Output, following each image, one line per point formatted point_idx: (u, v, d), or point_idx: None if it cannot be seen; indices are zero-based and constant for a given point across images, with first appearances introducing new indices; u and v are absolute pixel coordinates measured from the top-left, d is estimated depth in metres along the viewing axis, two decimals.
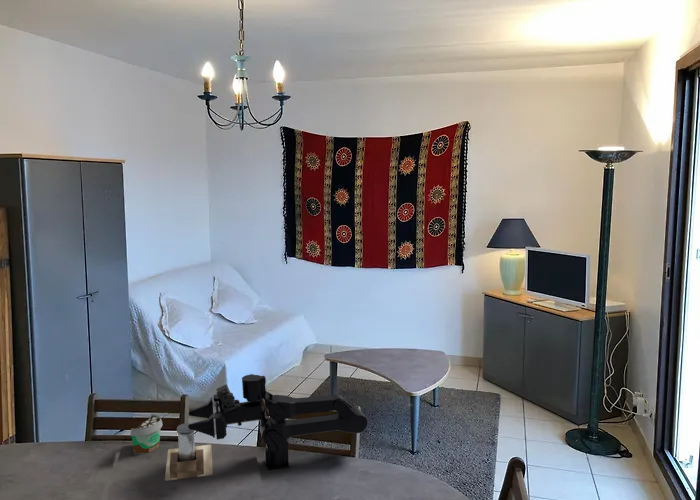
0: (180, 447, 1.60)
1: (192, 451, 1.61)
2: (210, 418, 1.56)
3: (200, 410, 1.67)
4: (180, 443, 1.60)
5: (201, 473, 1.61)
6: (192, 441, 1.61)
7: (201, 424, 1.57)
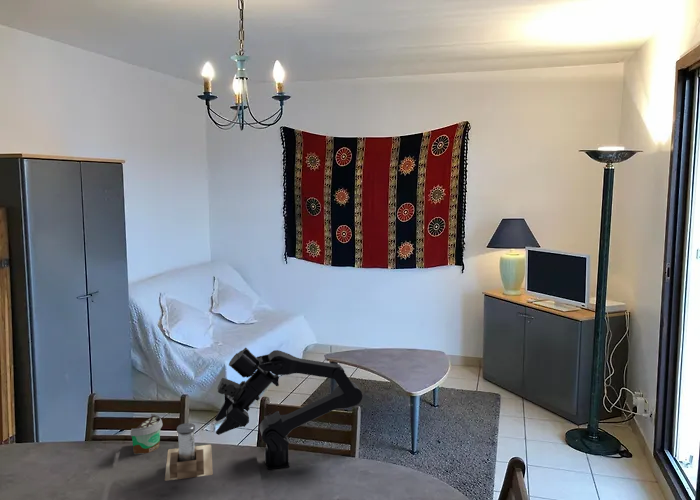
0: (180, 447, 1.60)
1: (192, 451, 1.61)
2: (226, 415, 1.57)
3: (223, 410, 1.69)
4: (180, 443, 1.60)
5: (201, 473, 1.61)
6: (192, 441, 1.61)
7: (224, 424, 1.58)
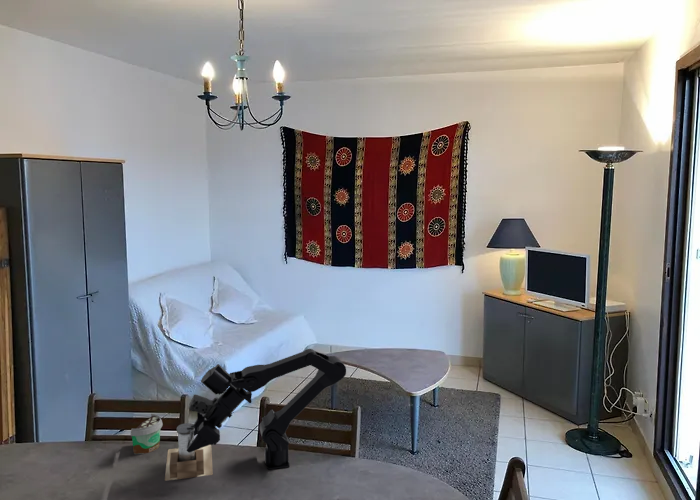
0: (180, 447, 1.60)
1: (192, 451, 1.61)
2: (197, 433, 1.56)
3: (195, 427, 1.67)
4: (180, 443, 1.60)
5: (201, 473, 1.61)
6: None
7: (195, 442, 1.57)
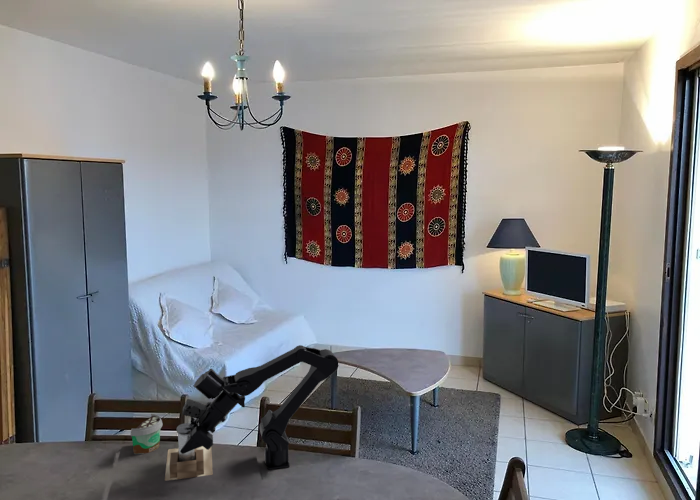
0: (180, 447, 1.60)
1: (192, 451, 1.61)
2: (190, 434, 1.58)
3: None
4: (180, 443, 1.60)
5: (201, 473, 1.61)
6: None
7: (188, 443, 1.59)
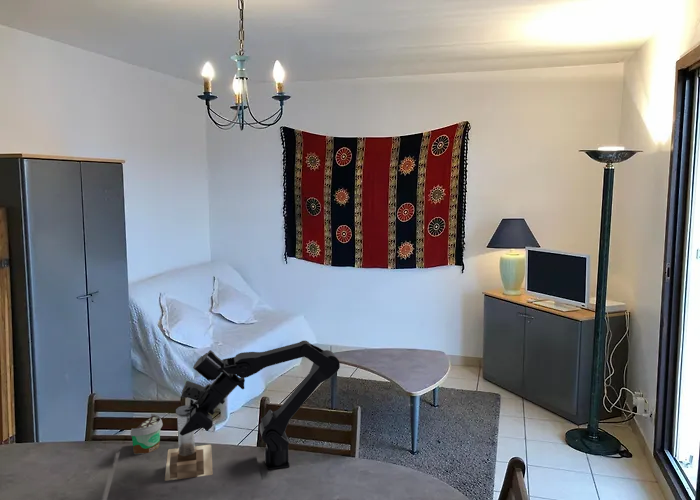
0: (179, 429, 1.60)
1: (192, 433, 1.61)
2: None
3: None
4: (179, 425, 1.59)
5: (201, 473, 1.61)
6: None
7: (188, 425, 1.58)
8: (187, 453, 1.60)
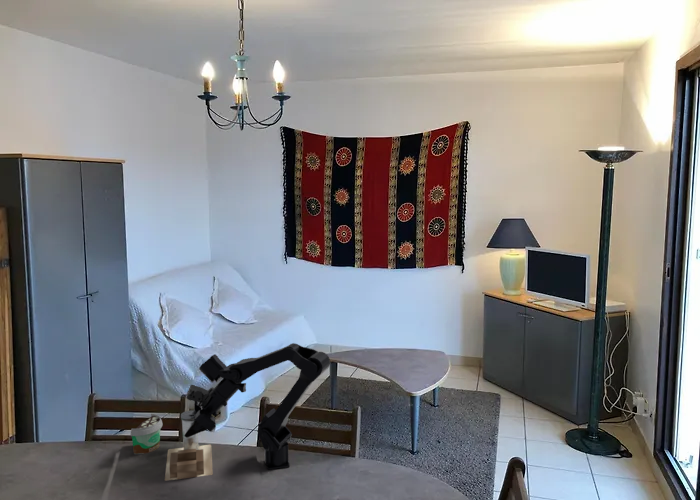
0: (184, 433, 1.69)
1: (196, 437, 1.70)
2: (194, 419, 1.65)
3: None
4: (184, 429, 1.69)
5: (201, 473, 1.61)
6: None
7: (192, 428, 1.66)
8: None
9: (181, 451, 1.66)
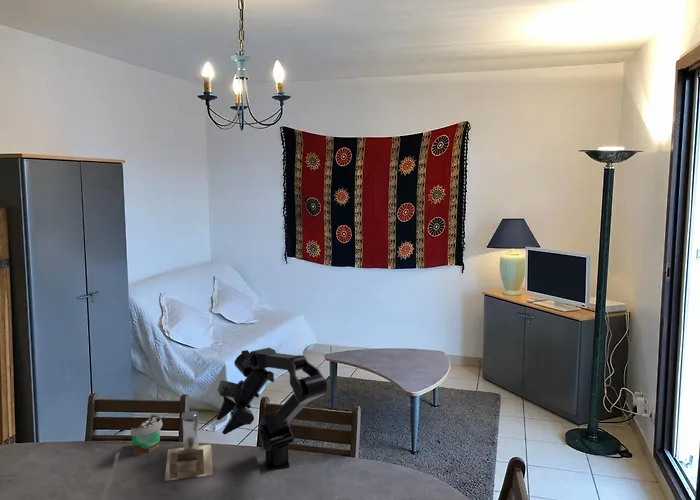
0: (185, 433, 1.69)
1: (196, 437, 1.70)
2: (231, 416, 1.66)
3: (223, 409, 1.77)
4: (185, 429, 1.69)
5: (201, 473, 1.61)
6: (196, 427, 1.70)
7: (230, 424, 1.68)
8: None
9: (181, 451, 1.66)
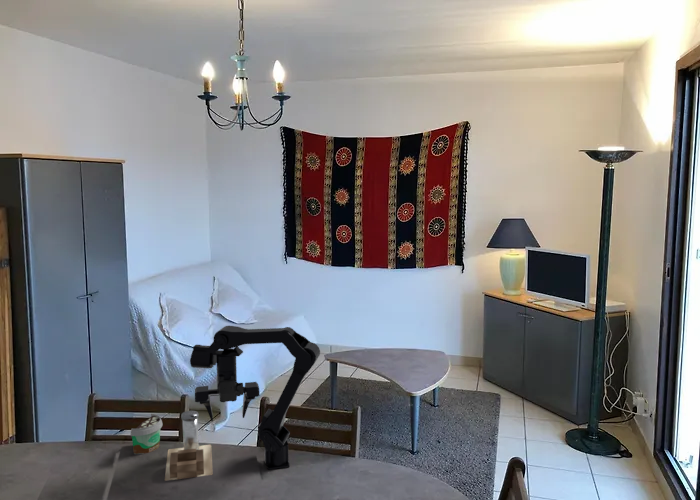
0: (184, 433, 1.69)
1: (196, 437, 1.70)
2: (250, 400, 1.69)
3: (211, 410, 1.68)
4: (184, 429, 1.69)
5: (201, 473, 1.61)
6: (196, 427, 1.70)
7: None
8: None
9: (181, 451, 1.66)
